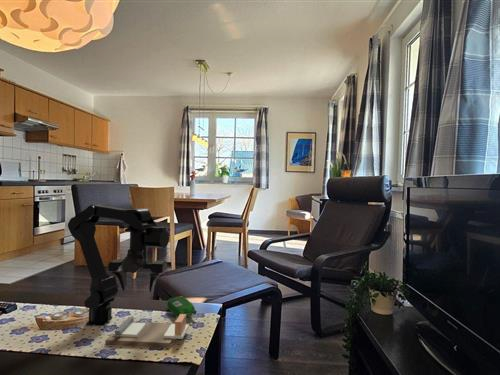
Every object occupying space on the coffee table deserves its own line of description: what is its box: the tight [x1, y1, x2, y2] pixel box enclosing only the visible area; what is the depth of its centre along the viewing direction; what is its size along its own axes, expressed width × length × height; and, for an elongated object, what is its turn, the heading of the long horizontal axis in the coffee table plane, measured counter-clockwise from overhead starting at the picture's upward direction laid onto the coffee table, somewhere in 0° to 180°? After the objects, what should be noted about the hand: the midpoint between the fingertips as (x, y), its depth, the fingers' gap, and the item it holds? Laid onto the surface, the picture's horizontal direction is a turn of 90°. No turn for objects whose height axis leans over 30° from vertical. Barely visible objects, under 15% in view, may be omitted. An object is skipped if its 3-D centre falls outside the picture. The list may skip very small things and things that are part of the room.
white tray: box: [112, 316, 147, 337], centre depth 98 cm, size 8×10×2 cm
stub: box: [164, 314, 190, 340], centre depth 97 cm, size 6×8×5 cm
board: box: [104, 320, 175, 349], centre depth 98 cm, size 20×13×2 cm, turn 88°
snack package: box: [166, 295, 197, 319], centre depth 115 cm, size 7×16×5 cm, turn 33°
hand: (137, 290), depth 102 cm, fingers open, 9 cm apart
